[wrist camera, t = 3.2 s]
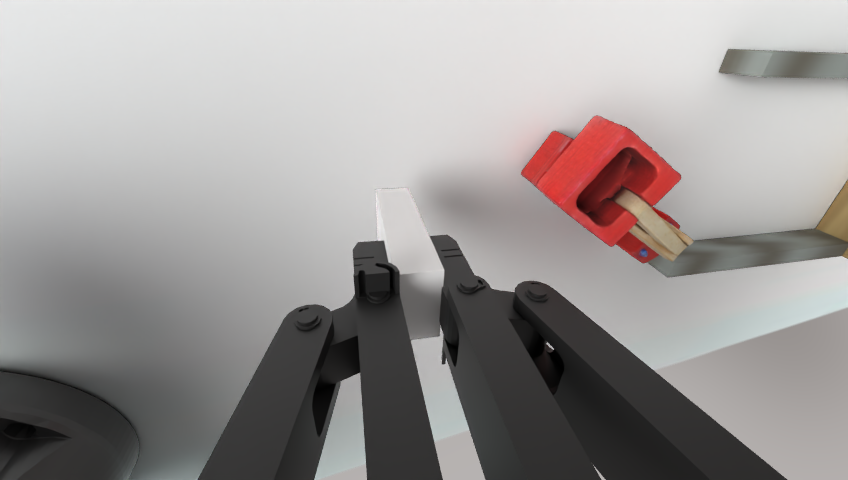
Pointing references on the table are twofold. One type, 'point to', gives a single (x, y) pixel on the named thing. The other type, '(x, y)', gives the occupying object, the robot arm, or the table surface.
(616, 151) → the toy fire truck
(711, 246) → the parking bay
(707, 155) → the table surface
